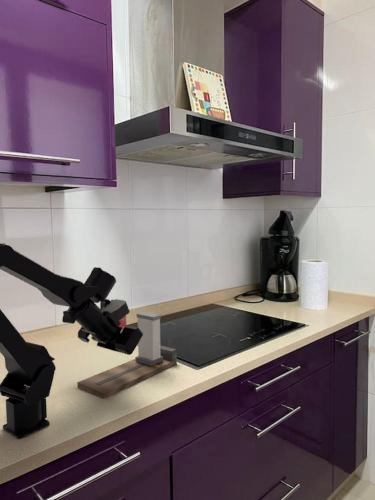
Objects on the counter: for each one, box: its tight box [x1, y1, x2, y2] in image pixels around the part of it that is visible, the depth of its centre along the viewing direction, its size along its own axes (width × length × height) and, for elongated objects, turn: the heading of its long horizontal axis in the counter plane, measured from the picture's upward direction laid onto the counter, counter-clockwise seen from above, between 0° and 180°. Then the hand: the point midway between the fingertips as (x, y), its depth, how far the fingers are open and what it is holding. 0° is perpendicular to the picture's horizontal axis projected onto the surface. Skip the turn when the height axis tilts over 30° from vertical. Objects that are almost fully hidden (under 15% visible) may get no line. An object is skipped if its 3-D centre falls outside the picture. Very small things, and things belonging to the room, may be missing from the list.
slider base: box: [77, 344, 178, 399], centre depth 98 cm, size 26×10×4 cm, turn 142°
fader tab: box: [134, 311, 163, 366], centre depth 104 cm, size 5×6×13 cm
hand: (126, 352), depth 97 cm, fingers closed
